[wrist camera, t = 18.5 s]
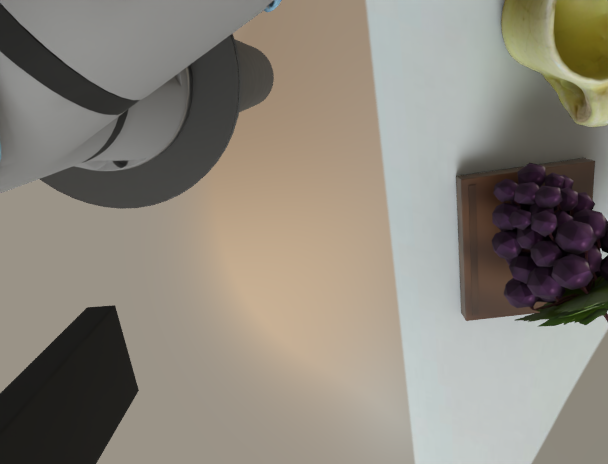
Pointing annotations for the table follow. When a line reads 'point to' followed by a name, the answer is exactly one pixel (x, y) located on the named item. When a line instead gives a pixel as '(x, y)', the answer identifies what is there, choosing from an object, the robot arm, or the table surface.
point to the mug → (564, 50)
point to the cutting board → (480, 231)
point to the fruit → (552, 247)
